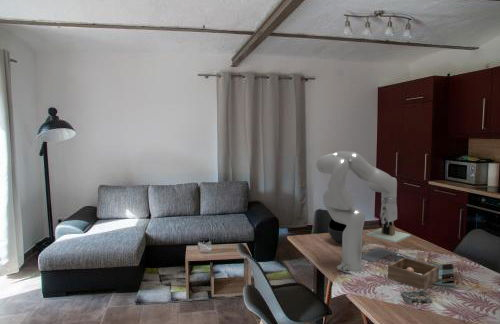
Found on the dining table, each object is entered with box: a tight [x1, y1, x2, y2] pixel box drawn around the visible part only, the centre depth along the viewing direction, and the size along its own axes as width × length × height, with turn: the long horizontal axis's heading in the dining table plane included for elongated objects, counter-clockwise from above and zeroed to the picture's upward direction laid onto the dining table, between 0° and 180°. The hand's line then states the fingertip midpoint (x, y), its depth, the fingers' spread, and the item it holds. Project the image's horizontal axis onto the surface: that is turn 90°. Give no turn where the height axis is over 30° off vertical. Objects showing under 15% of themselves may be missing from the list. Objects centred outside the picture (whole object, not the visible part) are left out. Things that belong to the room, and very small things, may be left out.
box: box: [387, 257, 440, 290], centre depth 153 cm, size 16×16×7 cm
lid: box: [365, 223, 412, 244], centre depth 181 cm, size 17×17×6 cm
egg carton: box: [400, 288, 433, 306], centre depth 135 cm, size 11×8×4 cm
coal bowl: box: [327, 218, 346, 245], centre depth 206 cm, size 20×20×19 cm
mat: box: [362, 247, 417, 263], centre depth 182 cm, size 22×22×1 cm
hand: (388, 232), depth 181 cm, fingers closed on lid, 3 cm apart
